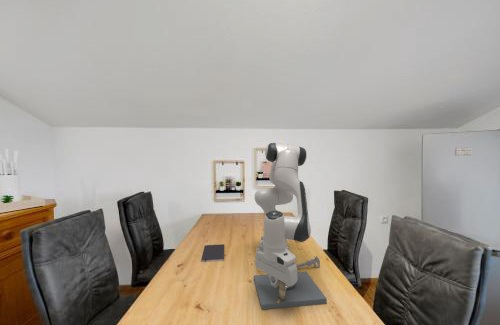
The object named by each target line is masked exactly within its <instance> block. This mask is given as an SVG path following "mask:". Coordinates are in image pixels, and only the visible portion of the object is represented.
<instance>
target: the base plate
mask: <svg viewBox="0 0 500 325" xmlns="http://www.w3.org/2000/svg"><path fill="white" fill-rule="evenodd" d="M274 279H275V277H274ZM275 281H276V280H275ZM253 282H254V287H255V290H256V293H257V296H258V301H259V305H260V308H261V310H262V311H263V310H274V309H282V308H283V309H285V308H293V307H294V308H296V307H304V306H314V305H315V306H317V305H325V304H326V305H327V302H328V301H327V297H326V296H325V294H324V293H323V292H322V291H321V288H319V286H318V285H317V284H316V283H315V281H314V280H313V278H312V277H311V276H310V274H309V272H307V271H297V282H296V283H295V287H294V288H292V289H287V291H286V299H285V300H281V299H279V286H278V287H277V288H275V287H273V286H272V285H271V281H270V279H269V276H268V274H267V273H265V274H255V275H253Z"/></svg>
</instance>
